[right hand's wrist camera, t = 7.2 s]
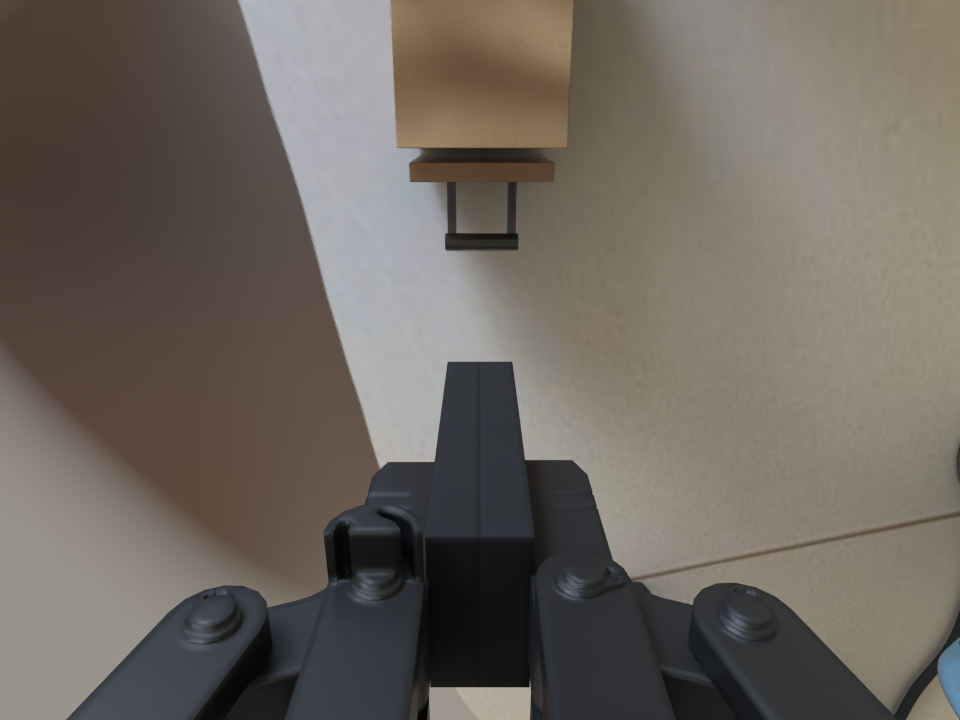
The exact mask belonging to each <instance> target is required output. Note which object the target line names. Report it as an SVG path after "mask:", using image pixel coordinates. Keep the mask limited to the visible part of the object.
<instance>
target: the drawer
mask: <svg viewBox="0 0 960 720" xmlns="http://www.w3.org/2000/svg"><path fill="white" fill-rule="evenodd" d="M409 168H410V182H447V206H448V233H446V234H445V249H446V251H517V250H518V233H516V184H517V182H553V181H554V162H552V161H551V160H549V159H548V158H546V157H545V156H543V155H542V154H422V155H420V156H419V157H417V158H416V159H414V160H413V161H412V162H410V163H409ZM456 182H508V199H507V233H456Z"/></svg>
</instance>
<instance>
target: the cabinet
mask: <svg viewBox="0 0 960 720" xmlns="http://www.w3.org/2000/svg"><path fill="white" fill-rule="evenodd" d="M390 5H391V27H392V49H393V71H394V93H395V116H396V138H397V148H567V137H568V115H569V94H570V73H571V52H572V31H573V9H574V0H390Z"/></svg>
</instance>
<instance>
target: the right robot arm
mask: <svg viewBox="0 0 960 720" xmlns="http://www.w3.org/2000/svg"><path fill="white" fill-rule="evenodd" d="M957 472H958V477H959V480H960V447H959V451H958V456H957ZM323 533H324V542H325V551H326V560H327V570H328V579H329V582H328V585H327V588H325V589H324V590H322V591H320V592H318V593H316V594H314V595H312V596H310V597H307V598H304V599H301V600H298V601H294V602H290V603H285V604H281V605H277V606H273V607H268V608H267V602H266V601H265V599H264V598H263V597H262V596H261V595H260V593H259V592H258V591H255V590H252V589H250V588H247V587H245V586H221V587H216V588H212V589H208V590H204V591H202V592H200V593H197V594H195V595H193V596H191V597H189V598H187V599H185V600H184V601H182V602H181V603H180V604H179V605H177V606H176V607H175V608H174V609H172V610H171V611H170V612H169V613H168V614H167V615H166V616H165V617H164V618H163V619H162V620H161V621H160V622H159V623H158V624H157V625H156V626H155V627H154V628H153V629H152V630H151V632H150V633H149V634H148V635H147V636H146V637H145V638H144V639H143V640H142V641H141V642H140V643H139V644H138V645H137V646H136V647H135V648H134V649H133V650H132V651H131V652H130V654H129V655H128V656H127V657H126V658H125V659H124V660H123V661H122V662H121V663H120V664H119V665H118V666H117V667H116V668H115V669H114V670H113V671H112V672H111V673H110V674H109V675H108V677H107V678H106V679H105V680H104V681H103V682H102V683H101V684H100V685H99V686H98V687H97V688H96V689H95V690H94V691H93V692H92V693H91V694H90V695H89V696H88V697H87V698H86V700H85V701H84V702H83V703H82V704H81V705H80V706H79V707H78V708H77V709H76V710H75V711H74V712H73V713H72V714H71V715H70V716H69V717H68V718H67V719H66V720H430V711H429V687H430V685H431V687H529V685H530V684H531V711H530V720H906V718H907V716H908V714H909V713H910V711H911V709H912V707H913V706H914V704H915V702H916V701H917V699H918V698H919V696H920V695H921V693H922V692H923V690H924V689H925V688H926V687H927V685H928V684H929V683H930V682H931V681H932V680H933V678H934V677H935V676H936V675H937V674H938V677H939V681H940V684H941V687H942V689H943V691H944V693H945V696H946V698H947V699H948V701H949V703H950V705H951V707H952V708H953V710H954V712H955V713H956V715H957V716H958V718H959V719H960V612H959V615H958V618H957V620H956V623H955V626H954V628H953V630H952V633H951V635H950V637H949V639H948V640H947V642H946V644H945V645H944V647H943V648H942V650H941V651H940V653H939V654H938V655H937V656H936V658H935V659H934V660H933V661H932V662H931V664H930V665H929V666H928V667H927V668H926V669H925V670H924V672H923V673H922V674H921V675H920V676H919V677H918V679H917V680H916V681H915V682H914V684H913V685H912V686H911V688H910V689H909V691H908V692H907V694H906V696H905V697H904V699H903V701H902V703H901V704H900V706H899V708H898V710H897V712H896V714H895V716H894V715H893V714H892V713H891V712H890V711H889V710H888V709H887V708H886V707H885V706H884V705H883V704H882V703H881V702H880V701H879V700H878V699H877V698H876V697H875V696H874V695H873V694H872V693H871V691H870V690H869V689H868V688H867V687H866V686H865V685H864V684H863V683H862V682H861V681H860V680H859V679H858V678H857V677H856V676H855V675H854V674H853V673H852V672H851V671H850V670H849V669H848V668H847V667H846V666H845V664H844V663H843V662H842V661H841V660H840V659H839V658H838V657H837V656H836V655H835V654H834V653H833V652H832V651H831V650H830V649H829V648H828V647H827V646H826V645H825V644H824V643H823V642H822V641H821V640H820V638H819V637H818V636H817V635H816V634H815V633H814V632H813V631H812V630H811V629H810V628H809V627H808V626H807V625H806V624H805V623H804V622H803V621H802V620H801V619H800V618H799V617H798V616H797V615H796V614H795V612H794V611H793V610H792V609H790V608H789V607H788V606H787V605H785V604H784V603H783V602H782V601H780V600H779V599H778V598H776V597H775V596H773V595H771V594H769V593H767V592H764V591H762V590H760V589H758V588H756V587H751V586H747V585H742V584H738V583H717V584H714V585H712V586H709V587H706V588H704V589H702V590H701V591H700V593H699V594H698V595H697V596H696V597H695V598H694V602H693V605H690V604H685V603H681V602H677V601H673V600H669V599H664V598H661V597H658V596H655V595H652V594H649V593H647V592H645V591H643V590H641V589H639V588H637V587H635V586H634V585H633V584H632V581H631V579H630V578H629V576H628V575H627V573H626V571H625V570H624V568H622V567H621V566H620V565H619V564H617V563H616V562H615V561H613V559H612V556H611V552H610V549H609V546H608V542H607V539H606V536H605V532H604V529H603V526H602V522H601V519H600V516H599V512H598V509H597V508H596V502H595V499H594V496H593V495H592V489H591V485H590V482H589V479H588V475H587V474H586V473H585V472H584V471H583V470H582V469H581V468H580V467H579V466H578V465H577V464H576V463H574V462H573V461H572V460H525V456H524V449H523V441H522V433H521V426H520V418H519V410H518V403H517V395H516V387H515V380H514V372H513V364H512V362H448V364H447V372H446V380H445V387H444V395H443V403H442V410H441V418H440V426H439V433H438V441H437V449H436V456H435V462H388V463H387V464H386V465H385V466H383V467H382V468H381V469H380V470H379V471H378V472H377V473H376V474H375V475H374V476H373V478H372V481H371V485H370V488H369V492H368V497H367V498H366V501H365V505H361V506H358V507H355V508H352V509H349V510H346V511H344V512H343V513H341V514H340V515H338V516H337V517H335V518H334V519H332V520H331V521H330V523H329V524H328V526H327V527H326V529H325V530H324V532H323Z"/></svg>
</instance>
